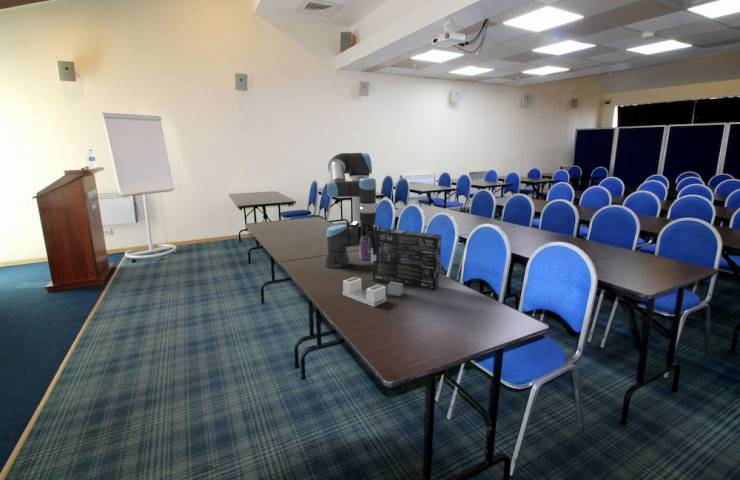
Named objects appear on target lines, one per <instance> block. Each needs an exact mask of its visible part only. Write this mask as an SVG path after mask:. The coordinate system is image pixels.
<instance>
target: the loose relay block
mask: <svg viewBox="0 0 740 480" xmlns="http://www.w3.org/2000/svg"><path fill="white" fill-rule="evenodd" d="M403 294H404V285H403V284H402V283H397V282H390V283H387V295H390V296H395V297H401V296H402V295H403Z"/></svg>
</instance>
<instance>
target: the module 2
mask: <svg viewBox="0 0 740 480" xmlns="http://www.w3.org/2000/svg"><path fill="white" fill-rule="evenodd" d="M365 290H366V300H369V301H372V302H376V301H378V300H380V299H383V298H385V297H386V295H387V294H386V286H385V285H382V284H380V283H379V284H375V285H372V286H370V287H368V288H366V289H365ZM386 298H387V297H386Z"/></svg>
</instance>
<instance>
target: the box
mask: <svg viewBox="0 0 740 480" xmlns="http://www.w3.org/2000/svg"><path fill="white" fill-rule="evenodd" d="M379 233H380V245H381V246H380V247H377V254H376V261H373V262H372V280H373V281H376V282H382V283H383V282H384V283H387V284H389V283H390V282H397V283H402V284H403V287H404V286H405V287H410V288H417V289H423V290H428V291H435V290H436V289H438V287H439V283H440V282H439V281H440V271H441V270H440V268H441V267H440V266H441V255H442V254H441V251H442V234H435V233H427V232H419V231H408V230H403V229H402V230H400V229H390V228H381V227H380V230H379Z"/></svg>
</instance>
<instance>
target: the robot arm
mask: <svg viewBox="0 0 740 480" xmlns="http://www.w3.org/2000/svg"><path fill="white" fill-rule="evenodd" d="M371 159H372V158H371V156H370V154H368V153H366V152H365V153H364V152H342V153H338V154H336V155H334V156H333V157H332V158H331V159H329V162H328V164H327V170H328V173H329V174H330V175H329V177H330V181H327V184H326V185H327V186H326V187H327V189H326V190H327V191H326V192H327V194H326V195H327V196H328V198H329V197H330V198H351V197H352V222H350V226H349V227H348V226H347V225H346V224H335V225H332V226H329V227H327V229H326V248H327V249H326V250H327V251H326V252H327V253H326V256H325V259H324V266H325V267H326V266H327V267H326V268H330V267H331V268H330V269H343V268H342V267H344V268H346V267H349V266H350V265H351V259H350V256H349V253H348V248H358V251H359V252H360V239H361V236H364V235H369V236H370V240H371V244H372V248H371V262H370V263H373V261H376V254H377V247H380V246H381V245H380V233H379V230H380V228H381V226H380V225H376V223H375V221H376V219H377V214H376V212H377V209H376V207H377V204H376V203H377V201H376V200H377V183H376V182H377V181H376V178H374V177H373V178H372V177H370V175H371V174H372V173H373V172H372V171H373V167H372V166H373V165H372V160H371ZM346 174H348V177H349V178H350V180H346V176H345V175H346Z"/></svg>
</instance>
